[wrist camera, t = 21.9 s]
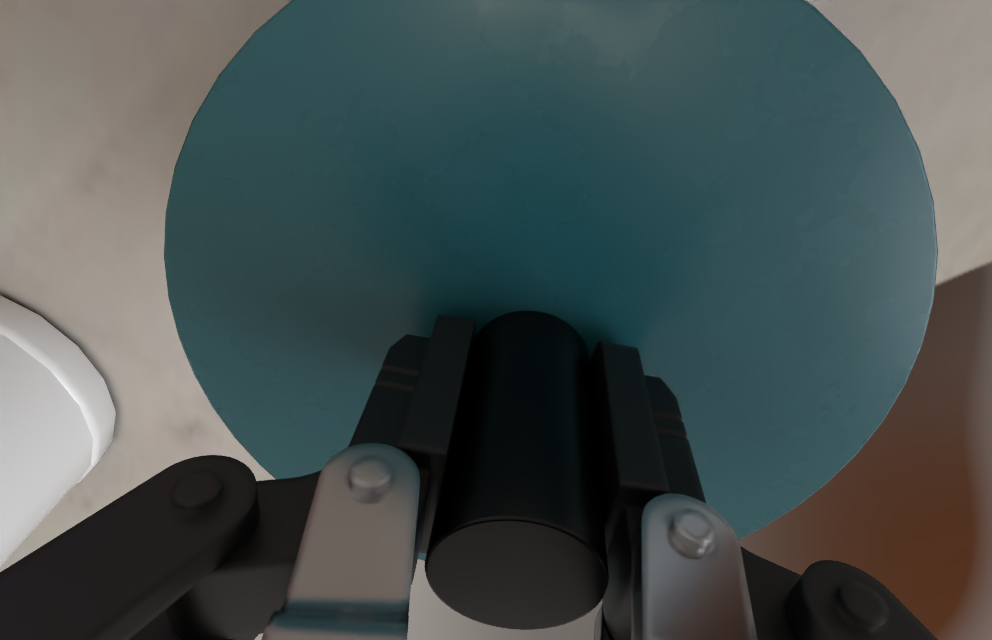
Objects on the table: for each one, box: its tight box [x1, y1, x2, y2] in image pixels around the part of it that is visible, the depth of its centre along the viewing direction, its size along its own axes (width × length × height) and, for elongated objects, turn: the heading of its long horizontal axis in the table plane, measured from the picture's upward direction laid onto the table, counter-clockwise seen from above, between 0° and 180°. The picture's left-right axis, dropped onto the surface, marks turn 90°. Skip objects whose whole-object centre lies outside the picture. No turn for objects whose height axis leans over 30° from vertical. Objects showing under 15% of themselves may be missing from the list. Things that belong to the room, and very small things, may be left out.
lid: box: [164, 0, 938, 630], centre depth 10 cm, size 15×15×6 cm
